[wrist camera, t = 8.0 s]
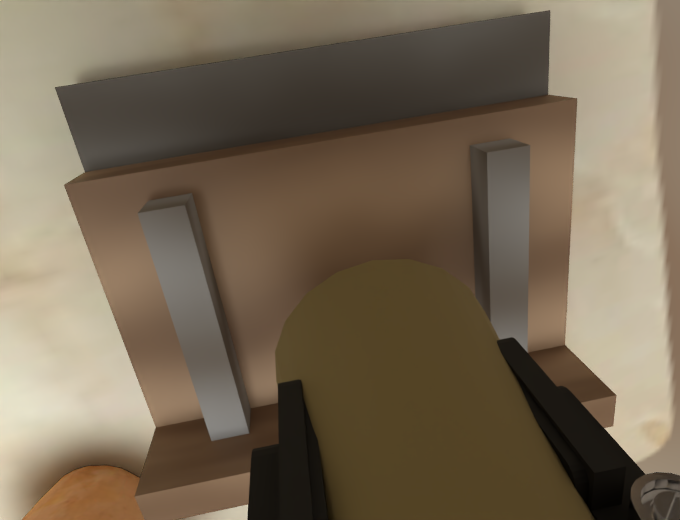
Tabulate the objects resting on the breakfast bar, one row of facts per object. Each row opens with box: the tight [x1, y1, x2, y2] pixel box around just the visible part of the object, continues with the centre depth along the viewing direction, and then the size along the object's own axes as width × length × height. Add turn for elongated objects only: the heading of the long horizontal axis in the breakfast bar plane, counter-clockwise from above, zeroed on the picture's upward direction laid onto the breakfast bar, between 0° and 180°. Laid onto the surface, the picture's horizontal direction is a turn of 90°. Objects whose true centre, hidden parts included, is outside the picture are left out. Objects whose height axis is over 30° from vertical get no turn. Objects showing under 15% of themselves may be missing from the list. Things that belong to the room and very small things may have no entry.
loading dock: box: [55, 10, 616, 520], centre depth 19 cm, size 15×18×8 cm
